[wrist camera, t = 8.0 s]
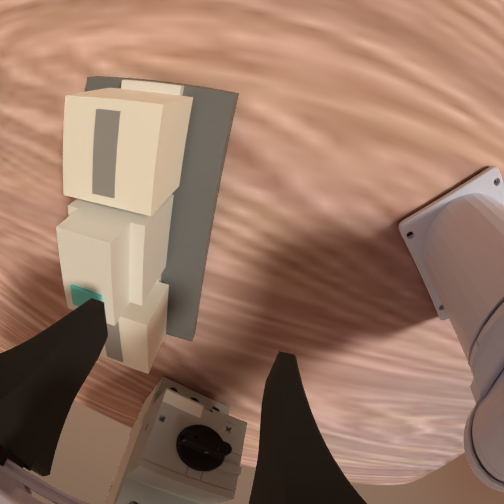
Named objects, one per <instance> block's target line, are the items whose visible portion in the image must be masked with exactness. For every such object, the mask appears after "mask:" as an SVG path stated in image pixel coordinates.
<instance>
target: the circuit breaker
mask: <svg viewBox="0 0 504 504" xmlns="http://www.w3.org/2000/svg"><path fill="white" fill-rule="evenodd" d="M169 388H170V389H169ZM171 389H172V390H171ZM173 390H174V391H173ZM175 391H176V392H175ZM192 399H193V400H192ZM194 400H195V401H194ZM141 407H142V409H141V411H140V413H139V414H138V416H137V418H136V421H135V423H134V426H133V428H132V431H131V433H130V438H129V441H128V444H127V446H126V449H125V452H124V454H123V457H122V459H121V462H120V465H119V467H118V470H117V473H116V475H115V478H114V480H113V481H112V483H111V486H110V489H109V492H108V494H107V497H106V500H105V502H106V504H216V503H220V502H224V501H228V500H232V499H234V495H235V490H236V484H237V478H238V475H240V473H241V467H240V462H241V456H242V450H243V444H244V438H245V432H246V426H247V422H244V421H241V420H239V419H236V418H234V417H231V416H229V415H228V414H229V410H230V407H229V406H227V405H224V404H222V403H220V402H217V401H215V400H213V399H211V398H208V397H206V396H204V395H202V394H200V393H197V392H195V391H193V390H191V389H189V388H187V387H185V386H183V385H180V384H178V383H176V382H174V381H172V380H170V379H168V378H166V377H164V376H163V377H162V378H161V380H160V381H159V382H158V384H157V385H156V386H155V388H154V389H153V390H152V392H151V393H150V394H149V396H148V397H147V398H146V400H145V402H144V403H143V404H142V406H141ZM211 408H213V409H211ZM214 409H216V410H214Z"/></svg>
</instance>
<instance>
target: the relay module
mask: <svg viewBox="0 0 504 504" xmlns="http://www.w3.org/2000/svg"><path fill="white" fill-rule="evenodd" d="M173 198H174V195H173V194H171V195H170V196H169V197H168V198H167V199H166V201H165V202H164V203H163V204H162V205H161V206H160V207H159V208H158V209H157V210H156V211H155V212H154V213H153V214H152V215H151V216H148V215H144V214H140V213H135V212H131V211H127V210H123V209H119V208H115V207H111V206H107V205H103V204H99V203H94V202H90V201H86V200H82V199H76V200H75V201H73V202H72V203H71V204H69V205H68V218H66V219H65V220H64V221H63V222H61V223H60V224H59V225H58V226H57V227H56V231H57V241H58V250H59V258H60V265H61V272H62V279H63V285H64V291H65V296H66V302H67V307H68V308H69V309H72V310H75V309H76V308H78V307H79V306H80V305H82V304H83V303H85V302H86V301H88V300H89V299H91V298H93V299H96V300H99V301H102V302H104V306H105V315H106V323H108V324H111V325H113V326H115V325H116V323H117V322H118V320H119V319H120V317H121V315H122V314H123V312H124V311H125V309H126V307H127V306H128V304H129V303H130V302H131V303H135V304H138V305H141V306H142V305H143V304H144V302H145V300H146V298H147V297H148V295H149V293H150V292H151V290H152V288H153V287H154V285H155V283H156V282H157V280H158V278H159V277H160V275H161V274H162V272H163V270H164V269H165V267H166V260H167V250H168V240H169V231H170V222H171V214H172V206H173Z"/></svg>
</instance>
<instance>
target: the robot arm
mask: <svg viewBox="0 0 504 504" xmlns="http://www.w3.org/2000/svg"><path fill="white" fill-rule="evenodd" d="M496 178H497V181H496V183H494V180H495V179H496ZM398 229H399V232H400V233H401V235H402V237H403V239H404V241H405V243H406V245H407V247H408V249H409V251H410V253H411V255H412V257H413V260H414V262H415V264H416V266H417V268H418V270H419V272H420V274H421V277H422V279H423V281H424V283H425V285H426V288H427V290H428V292H429V295H430V297H431V299H432V302H433V304H434V306H435V309H436V311H437V314H438V316H439V318H440V320H446V319H448V318H449V319H450V321H451V323H452V325H453V328H454V330H455V332H456V334H457V337H458V339H459V341H460V344H461V346H462V348H463V351H464V353H465V355H466V358H467V360H468V363H469V365H470V368H471V371H472V373H473V376H474V378H473V382H472V384H471V386H470V387H471V390H472V393H473V396H474V399H475V402H476V405H475V406H474V408H473V409H472V411H471V412H470V415H469V417H468V419H467V422H466V426H465V429H464V449H465V454H466V458H467V460H468V463H469V465H470V467H471V468H472V470H473V472H474V474H475V475H476V476H477V477H478V478H479V479H480V480H481V481H482V482H483V483H484V484H485V485H487V486H489V487H490V488H492V489H494V490H497V491H500V492H504V183H503V180H502V177H501V173H500V171H499V169H498V168H497V167H495V166H490V167H489V168H487V169H485V170H484V171H482V172H481V173H479V174H478V175H476V176H475V177H473V178H471V179H470V180H468V181H467V182H465V183H463V184H462V185H460V186H459V187H457V188H455V189H454V190H452V191H451V192H449V193H447V194H446V195H444V196H442V197H441V198H439V199H438V200H436V201H434V202H433V203H431V204H429V205H428V206H426V207H424V208H423V209H421V210H419V211H418V212H416V213H414V214H413V215H411V216H409V217H407V218H406V219H404V220H402V221H401V222H400V224H399V227H398ZM408 232H412V235H410V236H407V233H408ZM441 305H442V306H441ZM440 306H441V307H440ZM107 337H108V330H107V323H106V315H105V306H104V302H102V301H99V300H96V299H93V298H91V299H89V300H88V301H86V302H85V303H83V304H82V305H80V306H79V307H78V308H76V309H75V310H73V311H72V312H71V313H69V314H68V315H66V316H65V317H64V318H62V319H61V320H59V321H58V322H56V323H55V324H53V325H52V326H50V327H49V328H47V329H46V330H44V331H42V332H41V333H39V334H38V335H36V336H35V337H33V338H31V339H29V340H28V341H26V342H24V343H22V344H20V345H18V346H16V347H14V348H12V349H10V350H7V351H5V352H3V353H0V504H46V503H44V502H42V501H40V500H39V499H37V498H36V497H34V496H32V494H31V491H30V489H31V490H32V491H34V492H36V493H37V494H39V495H41V496H43V497H44V498H46V499H48V500H50V501H52V502H54V503H55V504H89V503H86V502H84V501H82V500H80V499H78V498H75V497H73V496H71V495H69V494H67V493H65V492H63V491H61V490H60V489H57V488H56V487H54V486H52V485H50V484H48V483H47V482H45V481H43V480H41V479H39V478H38V477H36V476H34V475H33V474H30V473H29V472H28V471H26V470H24V469H23V467H25V468H26V469H28V470H29V471H30V470H33V471H34V472H36V473H38V474H39V475H41V476H47V475H49V474H50V470H51V466H52V462H53V458H54V454H55V450H56V447H57V443H58V440H59V437H60V433H61V431H62V428H63V425H64V423H65V420H66V417H67V415H68V412H69V410H70V407H71V405H72V403H73V401H74V399H75V397H76V395H77V393H78V391H79V390H80V388H81V386H82V384H83V383H84V381H85V379H86V378H87V376H88V374H89V373H90V371H91V369H92V368H93V366H94V364H95V362H96V361H97V359H98V357H99V356H100V353H101V351H102V349H103V347H104V344H105V342H106V340H107ZM249 504H367V503H366V502H365V501H364V500H363V499H362V497H361V496H360V495H359V494H358V493H357V491H356V490H355V489H354V488H353V486H352V485H351V484H350V482H349V481H348V480H347V478H346V477H345V475H344V474H343V472H342V471H341V469H340V468H339V466H338V465H337V463H336V461H335V460H334V458H333V457H332V455H331V453H330V451H329V449H328V447H327V446H326V444H325V442H324V440H323V438H322V436H321V433H320V431H319V429H318V427H317V424H316V422H315V419H314V417H313V415H312V412H311V409H310V406H309V403H308V400H307V397H306V394H305V391H304V388H303V385H302V381H301V377H300V373H299V369H298V365H297V360H296V356H295V355H294V354H289V353H284V352H280V351H279V353H278V355H277V357H276V360H275V362H274V364H273V366H272V369H271V371H270V373H269V375H268V378H267V380H266V384H265V389H264V395H263V400H262V409H261V424H260V439H259V453H258V461H257V466H256V471H255V477H254V482H253V487H252V491H251V496H250V501H249Z"/></svg>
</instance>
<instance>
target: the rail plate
mask: <svg viewBox="0 0 504 504" xmlns="http://www.w3.org/2000/svg"><path fill="white" fill-rule="evenodd" d="M238 94H239V93H234V92H229V91H223V90H218V89H212V88H206V87H200V86H193V85H186V84H179V83H171V82H163V81H154V80H144V79H132V78H118V77H99V76H95V77H87V85H86V92H81V93H76V94H71V95H66V98H65V111H64V131H63V191H64V195H65V196H69V197H74V198H78V199H82V200H86V201H90V202H94V203H99V204H103V205H107V206H111V207H115V208H119V209H123V210H127V211H131V212H135V213H140V214H144V215H148V216H151V215H152V214H153V213H154V212H155V211H156V210H157V209H158V208H159V207H160V206H161V205H162V204H163V203H164V202H165V201H166V199H167V198H168V197H169V196H170V195H171V194H173V195H174V198H173V206H172V214H171V222H170V231H169V240H168V250H167V260H166V267H165V269H164V270H163V272H162V274H161V275H160V277H159V278H158V280H157V282H156V283H155V285H154V287H153V288H152V290H151V292H150V293H149V295H148V297H147V298H146V300H145V302H144V304H143V305H142V306H141V305H138V304H135V303H131V302H130V303H129V304H128V306H127V307H126V309H125V311H124V312H123V314H122V315H121V317H120V319H119V320H118V322H117V323H116V325H115V326H113V325H111V324H108V323H107V330H108V337H107V340H106V342H105V344H104V347H103V349H102V351H101V353H100V357H102V358H105V359H107V360H110V361H113V362H115V363H118V364H121V365H124V366H127V367H129V368H132V369H135V370H138V371H141V372H144V373H147V374H149V372H150V369H151V367H152V365H153V363H154V360H155V358H156V356H157V353H158V351H159V349H160V347H161V344H162V342H163V340H164V338H165V336H166V334H168V335H171V336H175V337H178V338H182V339H185V340H189V341H192V340H193V337H194V334H195V330H196V323H197V316H198V310H199V303H200V297H201V290H202V284H203V278H204V271H205V265H206V259H207V253H208V247H209V242H210V236H211V230H212V224H213V219H214V213H215V208H216V202H217V197H218V192H219V186H220V181H221V176H222V171H223V166H224V161H225V156H226V151H227V146H228V141H229V136H230V131H231V126H232V122H233V117H234V112H235V108H236V103H237V99H238Z"/></svg>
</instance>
